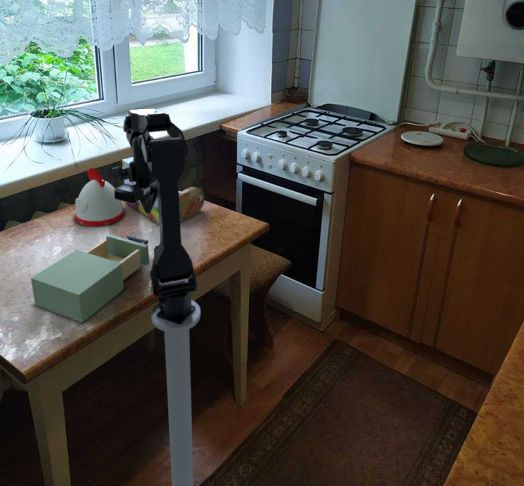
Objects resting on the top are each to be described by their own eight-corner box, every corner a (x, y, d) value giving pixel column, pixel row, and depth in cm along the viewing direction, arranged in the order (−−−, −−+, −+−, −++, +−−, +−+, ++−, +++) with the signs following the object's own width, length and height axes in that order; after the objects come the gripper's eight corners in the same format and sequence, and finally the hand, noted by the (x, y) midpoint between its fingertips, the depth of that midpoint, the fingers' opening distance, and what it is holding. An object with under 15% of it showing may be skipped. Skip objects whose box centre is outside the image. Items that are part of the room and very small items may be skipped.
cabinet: (79, 274, 122) (76, 249, 119) (123, 289, 117) (121, 263, 114) (35, 304, 110) (30, 277, 108) (82, 322, 105) (78, 295, 103)
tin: (172, 226, 146) (171, 200, 143) (164, 223, 148) (163, 197, 145) (205, 209, 158) (205, 184, 155) (198, 206, 160) (197, 182, 156)
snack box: (124, 202, 160) (120, 159, 155) (139, 198, 164) (136, 155, 158) (159, 226, 146) (157, 179, 141) (175, 221, 150) (174, 174, 144)
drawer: (121, 244, 134) (119, 227, 132) (159, 255, 130) (158, 237, 128) (76, 275, 120) (73, 256, 118) (116, 289, 115) (115, 269, 113)
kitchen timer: (107, 201, 160) (103, 158, 155) (132, 215, 152) (129, 170, 147) (67, 215, 151) (61, 169, 145) (92, 230, 142) (87, 182, 137)
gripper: (141, 142, 137) (144, 193, 142) (94, 163, 121) (99, 220, 127) (175, 149, 132) (177, 201, 138) (131, 172, 117) (135, 230, 122)
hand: (147, 212), depth 132 cm, fingers closed
